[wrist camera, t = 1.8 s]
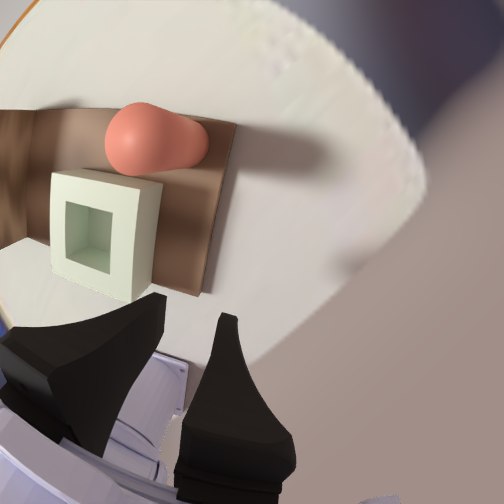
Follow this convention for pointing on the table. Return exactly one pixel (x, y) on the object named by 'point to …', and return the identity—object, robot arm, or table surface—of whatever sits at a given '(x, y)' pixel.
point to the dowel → (153, 140)
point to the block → (104, 230)
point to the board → (94, 158)
